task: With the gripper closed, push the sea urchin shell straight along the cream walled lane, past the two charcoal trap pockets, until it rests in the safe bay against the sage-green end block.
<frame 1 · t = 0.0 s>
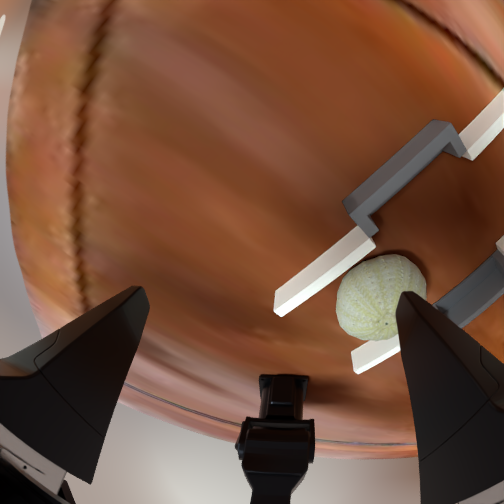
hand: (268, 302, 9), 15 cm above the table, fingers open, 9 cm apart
trap lane: (420, 256, 23), on the table
sea urchin shell: (376, 286, 26), on the table
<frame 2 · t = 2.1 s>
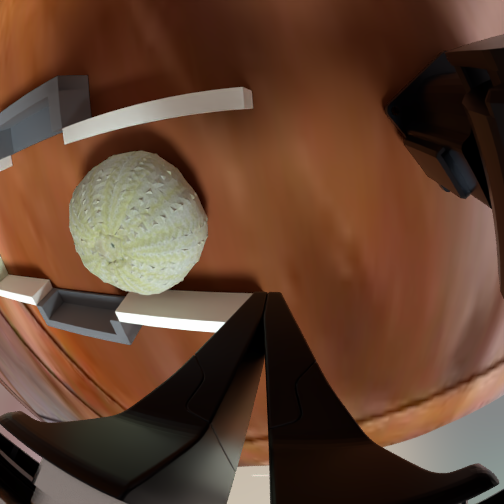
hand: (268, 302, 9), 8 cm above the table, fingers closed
trap lane: (86, 220, 18), on the table
sea urchin shell: (148, 213, 18), on the table
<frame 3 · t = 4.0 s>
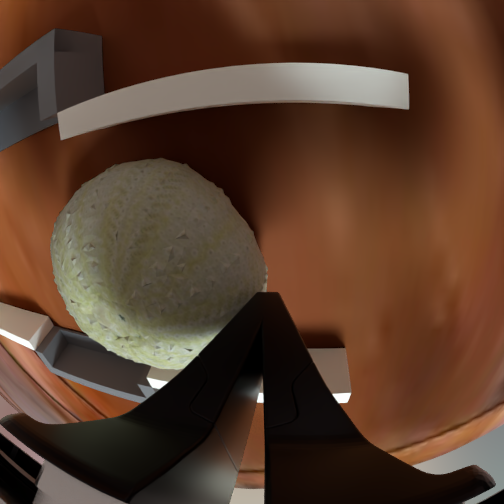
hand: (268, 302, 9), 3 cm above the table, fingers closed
trap lane: (96, 251, 13), on the table
sea urchin shell: (168, 248, 12), on the table, touching gripper
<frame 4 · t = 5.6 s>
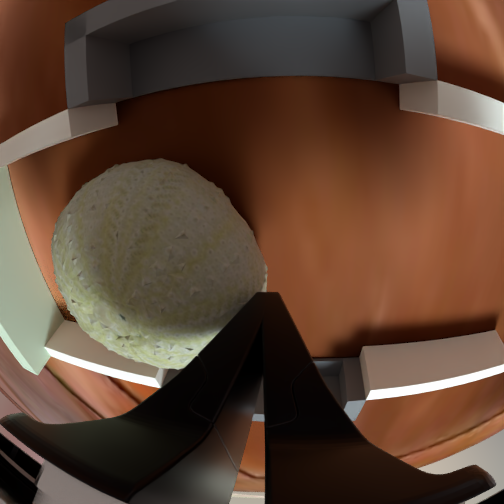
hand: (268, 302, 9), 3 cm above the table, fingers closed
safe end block: (25, 250, 14), on the table
trap lane: (330, 252, 11), on the table
sea urchin shell: (168, 248, 13), on the table, touching gripper
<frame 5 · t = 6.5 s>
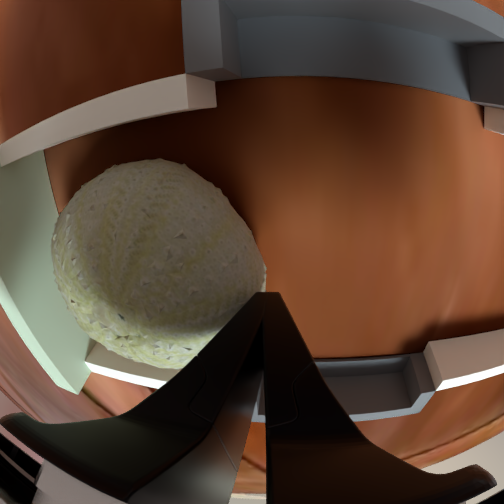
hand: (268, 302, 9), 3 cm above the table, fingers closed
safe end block: (60, 251, 13), on the table
trap lane: (421, 253, 11), on the table
sea urchin shell: (168, 248, 13), on the table, touching gripper
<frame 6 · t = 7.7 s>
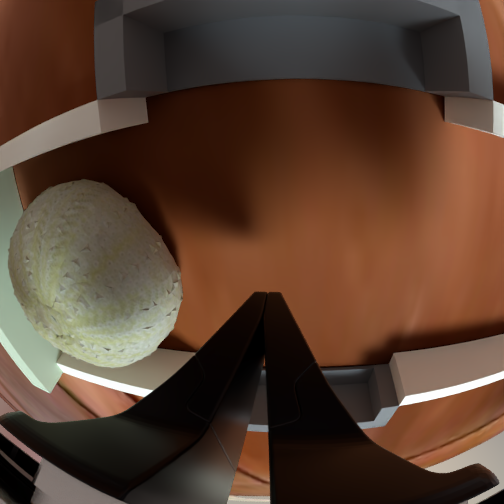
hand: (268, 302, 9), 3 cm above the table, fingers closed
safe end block: (32, 259, 13), on the table
trap lane: (374, 262, 11), on the table
sea urchin shell: (108, 257, 13), on the table
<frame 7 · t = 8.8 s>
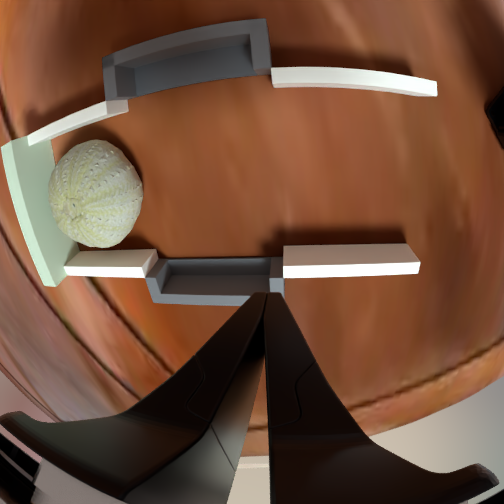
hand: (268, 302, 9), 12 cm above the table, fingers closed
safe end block: (57, 198, 22), on the table
trap lane: (245, 172, 19), on the table
sea urchin shell: (106, 187, 21), on the table
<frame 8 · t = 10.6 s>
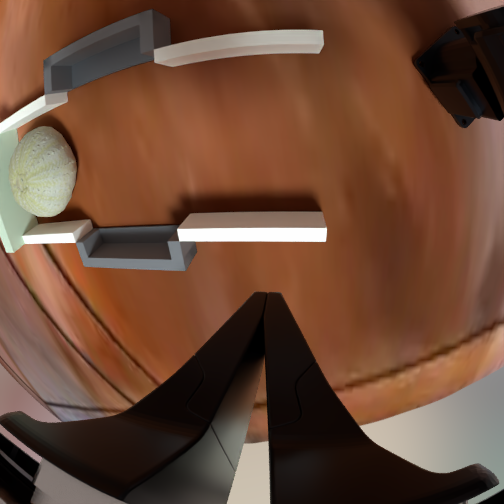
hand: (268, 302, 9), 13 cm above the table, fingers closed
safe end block: (21, 178, 22), on the table
trap lane: (151, 145, 20), on the table
sea urchin shell: (54, 166, 22), on the table
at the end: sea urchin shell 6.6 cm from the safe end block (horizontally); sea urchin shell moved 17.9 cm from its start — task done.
